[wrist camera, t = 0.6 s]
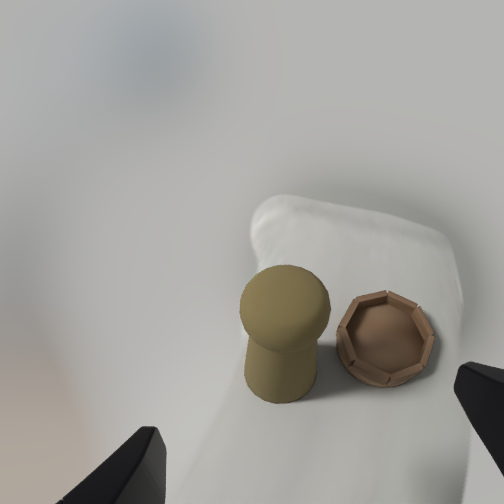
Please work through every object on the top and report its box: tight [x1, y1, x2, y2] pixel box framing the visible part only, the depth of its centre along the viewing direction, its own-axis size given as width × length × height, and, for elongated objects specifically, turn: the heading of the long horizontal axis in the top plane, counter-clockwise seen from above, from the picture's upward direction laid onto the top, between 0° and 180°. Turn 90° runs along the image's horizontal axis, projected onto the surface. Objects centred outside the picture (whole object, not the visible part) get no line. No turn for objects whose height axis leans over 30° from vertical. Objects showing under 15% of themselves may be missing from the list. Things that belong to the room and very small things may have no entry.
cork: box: [240, 265, 331, 404], centre depth 20 cm, size 6×6×11 cm
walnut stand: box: [336, 290, 435, 387], centre depth 24 cm, size 9×9×2 cm
